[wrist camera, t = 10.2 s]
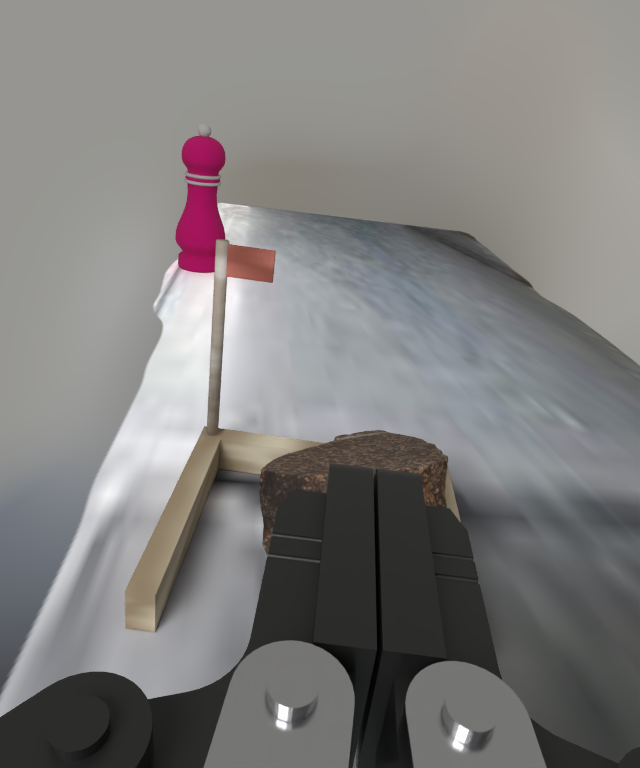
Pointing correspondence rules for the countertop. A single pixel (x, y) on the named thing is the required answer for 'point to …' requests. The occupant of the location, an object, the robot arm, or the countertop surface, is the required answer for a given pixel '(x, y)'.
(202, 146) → the pepper mill
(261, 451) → the corral
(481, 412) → the countertop surface
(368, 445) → the rock
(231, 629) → the countertop surface
